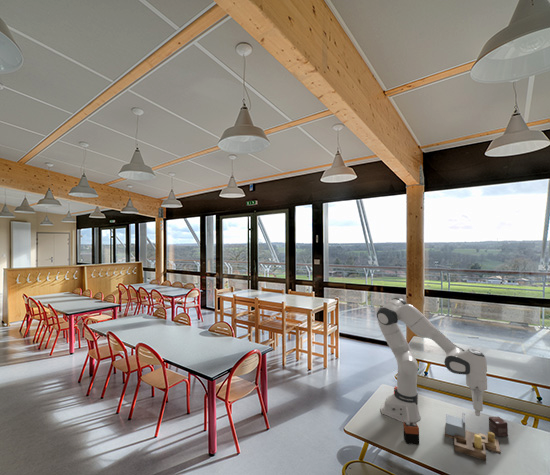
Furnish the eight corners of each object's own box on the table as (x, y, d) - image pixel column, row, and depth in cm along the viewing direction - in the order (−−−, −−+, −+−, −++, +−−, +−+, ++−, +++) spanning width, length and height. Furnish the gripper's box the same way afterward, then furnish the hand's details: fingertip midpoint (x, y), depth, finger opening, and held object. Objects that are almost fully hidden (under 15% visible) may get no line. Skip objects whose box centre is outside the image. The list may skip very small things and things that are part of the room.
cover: (445, 433, 155) (445, 417, 155) (446, 424, 162) (445, 408, 162) (465, 439, 150) (465, 422, 150) (465, 429, 157) (464, 413, 157)
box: (499, 429, 159) (498, 416, 159) (508, 436, 153) (507, 423, 153) (488, 429, 159) (488, 416, 159) (497, 437, 153) (497, 423, 153)
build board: (454, 450, 144) (454, 444, 144) (454, 439, 152) (454, 434, 152) (486, 460, 137) (486, 454, 137) (484, 449, 145) (484, 443, 145)
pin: (474, 450, 142) (473, 436, 142) (474, 447, 145) (474, 433, 145) (481, 453, 140) (481, 439, 140) (482, 450, 143) (481, 436, 143)
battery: (403, 438, 153) (403, 419, 153) (416, 439, 152) (416, 420, 152) (406, 444, 149) (405, 425, 149) (419, 445, 148) (419, 426, 148)
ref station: (444, 436, 154) (444, 425, 154) (445, 425, 163) (445, 415, 163) (500, 453, 142) (500, 441, 142) (497, 441, 150) (497, 430, 150)
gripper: (486, 394, 133) (486, 423, 132) (482, 376, 150) (482, 402, 150) (469, 390, 136) (470, 419, 136) (468, 373, 153) (468, 398, 153)
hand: (476, 410), depth 143 cm, fingers open, 8 cm apart
